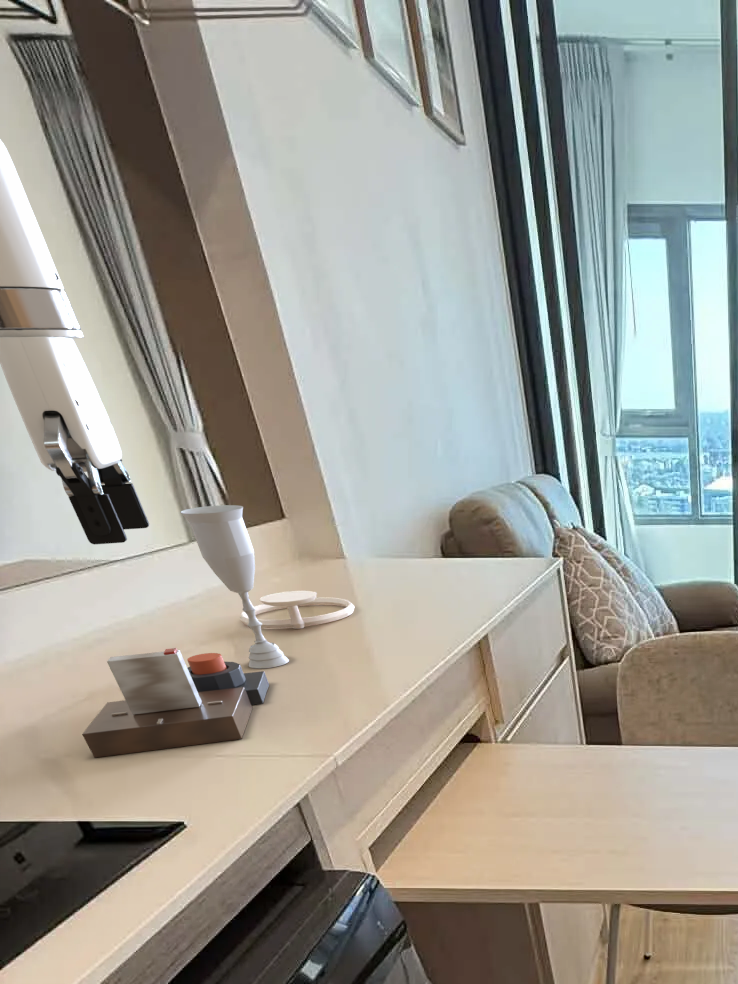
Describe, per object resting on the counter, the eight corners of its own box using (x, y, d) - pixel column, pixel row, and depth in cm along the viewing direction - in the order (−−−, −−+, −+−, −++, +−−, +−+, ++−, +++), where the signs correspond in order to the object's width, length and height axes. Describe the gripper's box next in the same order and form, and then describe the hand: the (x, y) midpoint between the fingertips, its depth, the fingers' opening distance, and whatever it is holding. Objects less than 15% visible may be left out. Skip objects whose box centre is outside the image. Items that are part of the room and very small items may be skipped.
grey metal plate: (132, 714, 90) (105, 658, 87) (135, 709, 92) (109, 654, 88) (199, 706, 92) (175, 651, 88) (202, 702, 93) (178, 647, 90)
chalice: (281, 670, 112) (225, 513, 100) (230, 671, 112) (168, 514, 100) (305, 655, 117) (253, 504, 106) (256, 655, 117) (200, 505, 106)
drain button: (191, 678, 99) (184, 662, 98) (196, 670, 101) (189, 654, 100) (225, 674, 100) (219, 659, 98) (229, 666, 102) (223, 651, 101)
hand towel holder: (346, 572, 141) (349, 596, 126) (354, 600, 144) (358, 627, 129) (234, 581, 136) (223, 607, 121) (245, 611, 139) (236, 640, 124)
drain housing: (169, 714, 98) (155, 683, 96) (181, 694, 104) (168, 665, 102) (263, 703, 101) (251, 673, 99) (269, 684, 107) (258, 655, 104)
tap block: (94, 758, 88) (80, 732, 86) (118, 724, 96) (106, 700, 94) (241, 739, 91) (231, 714, 90) (252, 708, 99) (243, 685, 98)
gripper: (11, 322, 81) (102, 526, 92) (-62, 314, 68) (53, 552, 79) (100, 321, 83) (179, 521, 94) (44, 313, 70) (143, 546, 81)
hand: (121, 535), depth 86 cm, fingers open, 9 cm apart
